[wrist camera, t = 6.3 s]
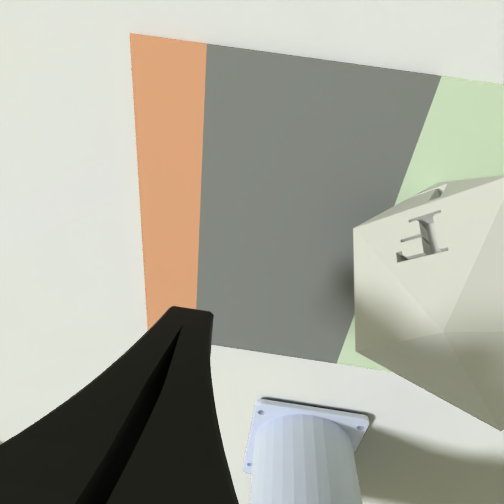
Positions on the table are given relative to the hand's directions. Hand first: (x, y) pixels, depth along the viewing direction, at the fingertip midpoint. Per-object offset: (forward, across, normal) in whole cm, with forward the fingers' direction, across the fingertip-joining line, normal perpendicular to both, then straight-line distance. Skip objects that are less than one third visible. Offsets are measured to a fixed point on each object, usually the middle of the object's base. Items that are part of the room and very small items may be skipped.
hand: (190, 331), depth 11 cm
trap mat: (+7, -8, 0) cm, 11 cm away
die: (+7, -10, -1) cm, 12 cm away
